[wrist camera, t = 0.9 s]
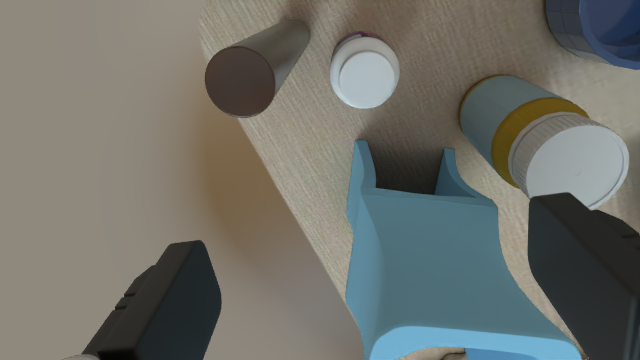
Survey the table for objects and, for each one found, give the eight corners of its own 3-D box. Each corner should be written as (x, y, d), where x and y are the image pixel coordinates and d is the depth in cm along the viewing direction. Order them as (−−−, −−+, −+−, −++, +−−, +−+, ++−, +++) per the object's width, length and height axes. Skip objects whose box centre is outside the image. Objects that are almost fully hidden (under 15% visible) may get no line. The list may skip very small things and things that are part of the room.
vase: (344, 225, 45) (348, 460, 22) (355, 139, 41) (374, 319, 18) (434, 234, 45) (531, 478, 22) (454, 149, 41) (597, 341, 18)
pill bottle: (401, 66, 38) (420, 88, 29) (354, 102, 40) (358, 133, 31) (367, 16, 37) (376, 23, 28) (319, 55, 38) (313, 74, 29)
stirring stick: (269, 35, 38) (189, 82, 18) (292, 10, 37) (236, 29, 17) (293, 60, 38) (242, 132, 18) (316, 36, 37) (290, 84, 17)
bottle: (538, 71, 38) (650, 114, 24) (527, 144, 41) (622, 220, 27) (459, 75, 38) (526, 120, 25) (454, 147, 41) (512, 223, 27)
